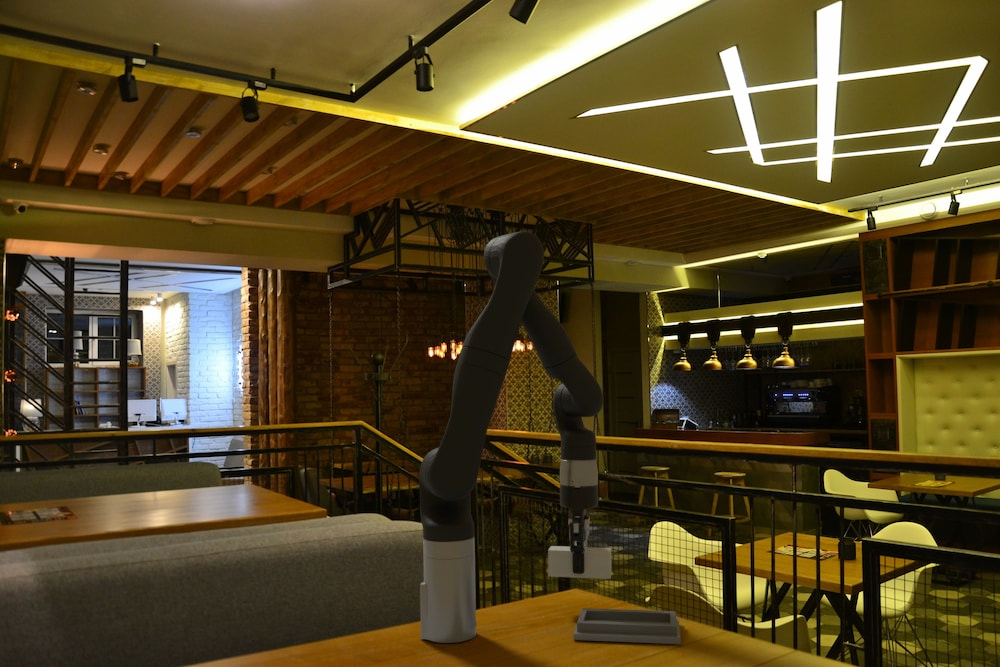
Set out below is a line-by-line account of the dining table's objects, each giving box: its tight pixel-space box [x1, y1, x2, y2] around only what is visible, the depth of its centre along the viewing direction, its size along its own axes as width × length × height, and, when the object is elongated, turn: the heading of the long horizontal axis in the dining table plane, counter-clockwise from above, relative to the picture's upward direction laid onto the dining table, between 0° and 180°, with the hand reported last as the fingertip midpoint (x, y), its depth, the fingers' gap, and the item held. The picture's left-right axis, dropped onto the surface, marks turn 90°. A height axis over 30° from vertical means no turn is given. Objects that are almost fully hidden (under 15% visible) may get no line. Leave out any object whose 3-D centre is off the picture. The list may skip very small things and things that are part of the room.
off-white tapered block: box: [547, 545, 612, 580], centre depth 152 cm, size 4×12×5 cm, turn 79°
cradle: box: [573, 607, 682, 645], centre depth 137 cm, size 12×18×2 cm, turn 79°
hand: (579, 570), depth 152 cm, fingers closed on off-white tapered block, 4 cm apart
